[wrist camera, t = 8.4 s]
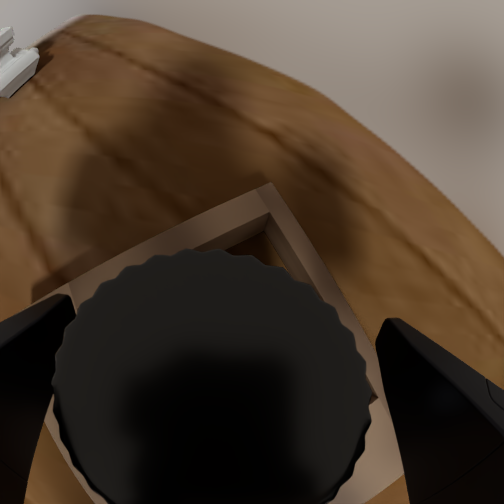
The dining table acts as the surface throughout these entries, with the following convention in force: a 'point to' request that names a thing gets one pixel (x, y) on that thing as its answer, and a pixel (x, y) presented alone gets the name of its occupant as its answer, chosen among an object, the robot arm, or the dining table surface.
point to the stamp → (14, 64)
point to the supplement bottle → (210, 386)
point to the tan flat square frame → (301, 269)
